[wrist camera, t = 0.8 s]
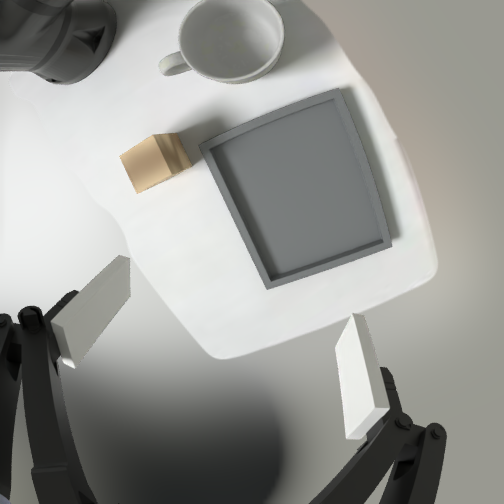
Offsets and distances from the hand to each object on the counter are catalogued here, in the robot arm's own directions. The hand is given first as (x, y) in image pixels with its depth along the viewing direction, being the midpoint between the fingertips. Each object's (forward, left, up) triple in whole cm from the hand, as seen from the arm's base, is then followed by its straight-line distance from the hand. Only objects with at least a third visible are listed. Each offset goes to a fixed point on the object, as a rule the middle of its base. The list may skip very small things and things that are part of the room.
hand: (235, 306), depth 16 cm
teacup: (-20, +4, -23) cm, 31 cm away
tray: (0, +5, -23) cm, 23 cm away
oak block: (-11, -9, -23) cm, 27 cm away
